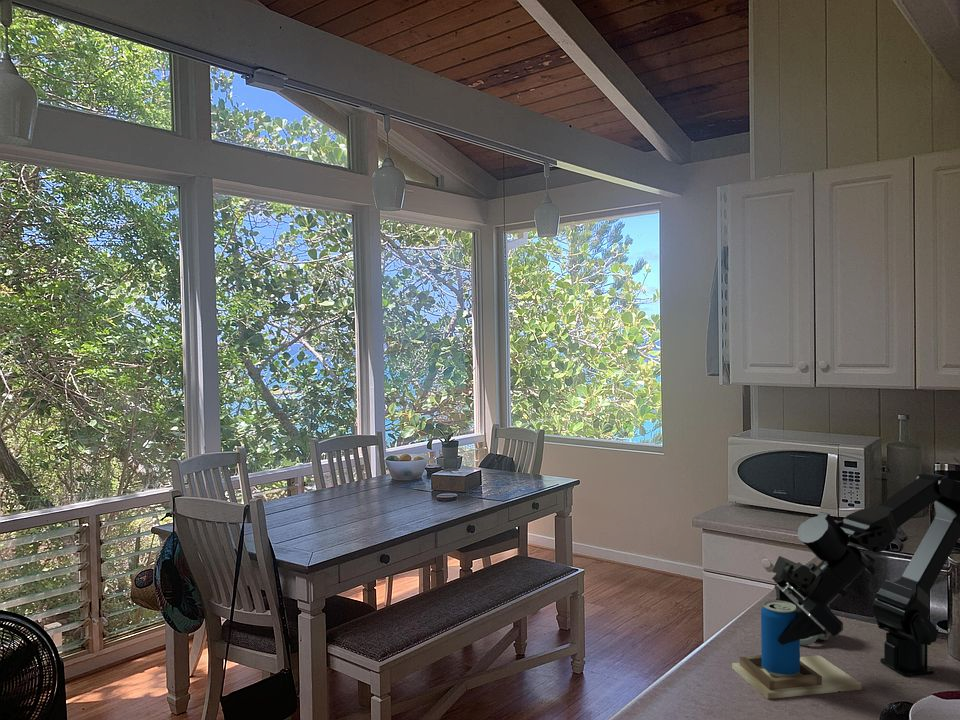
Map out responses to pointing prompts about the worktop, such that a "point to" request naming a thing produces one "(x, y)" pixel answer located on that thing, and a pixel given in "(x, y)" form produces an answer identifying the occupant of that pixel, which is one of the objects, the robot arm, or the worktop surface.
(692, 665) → the worktop surface
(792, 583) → the robot arm
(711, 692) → the worktop surface
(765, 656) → the beverage can
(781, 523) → the worktop surface
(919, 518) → the worktop surface
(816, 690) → the can holder
